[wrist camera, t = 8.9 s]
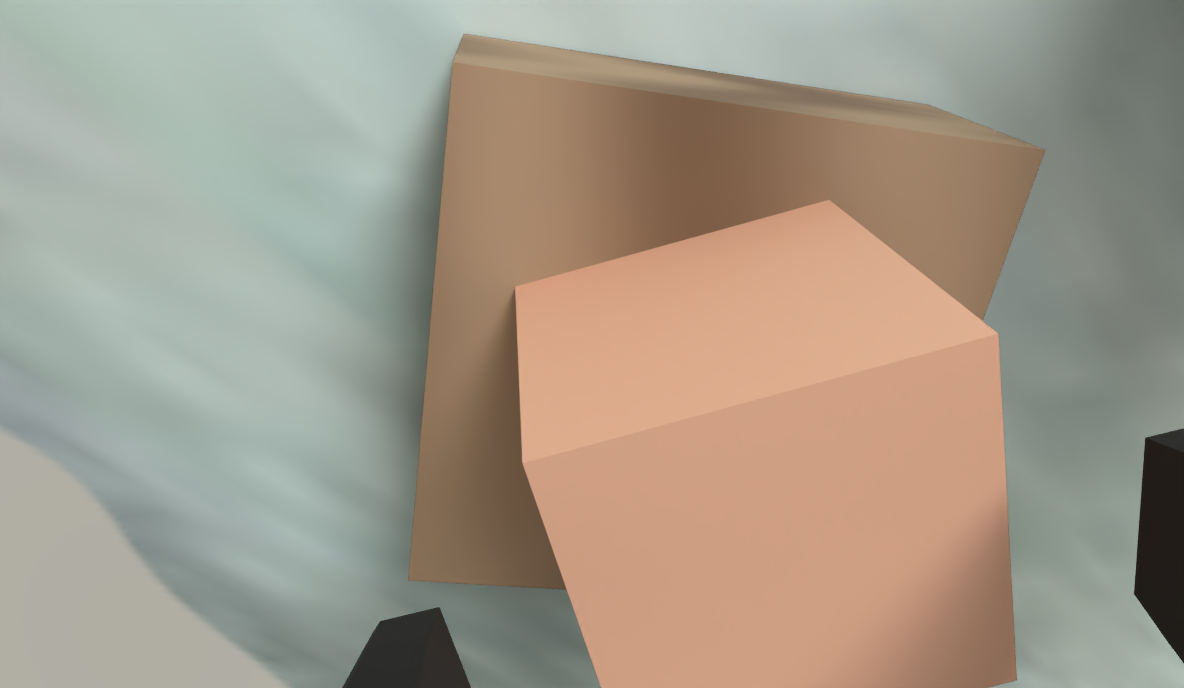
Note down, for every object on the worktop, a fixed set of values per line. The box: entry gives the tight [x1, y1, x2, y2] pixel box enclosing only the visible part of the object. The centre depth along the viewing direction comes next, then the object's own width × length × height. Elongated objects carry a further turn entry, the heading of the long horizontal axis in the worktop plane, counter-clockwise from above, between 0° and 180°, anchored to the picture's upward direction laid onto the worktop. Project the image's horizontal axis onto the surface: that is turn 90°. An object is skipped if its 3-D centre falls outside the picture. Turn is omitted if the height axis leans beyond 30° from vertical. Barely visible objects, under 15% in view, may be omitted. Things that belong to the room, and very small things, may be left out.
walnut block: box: [408, 34, 1045, 590], centre depth 16 cm, size 9×9×4 cm
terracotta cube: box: [515, 200, 1017, 688], centre depth 12 cm, size 5×5×5 cm
